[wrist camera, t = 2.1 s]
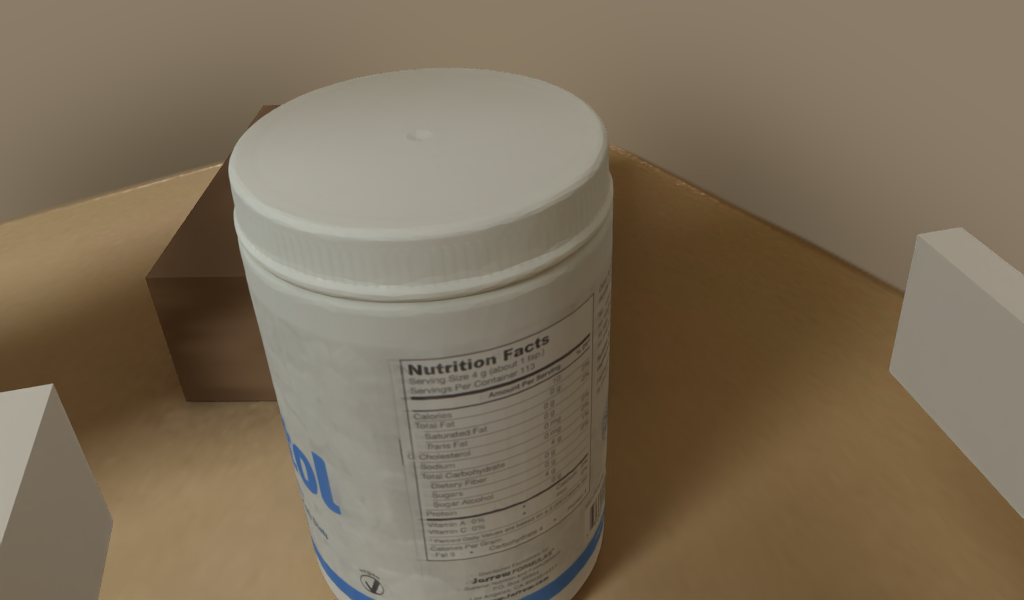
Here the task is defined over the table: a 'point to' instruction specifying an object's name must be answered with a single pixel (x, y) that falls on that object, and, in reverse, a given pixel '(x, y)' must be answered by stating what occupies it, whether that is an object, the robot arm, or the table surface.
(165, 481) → the table surface
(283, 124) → the supplement tub
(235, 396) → the block
